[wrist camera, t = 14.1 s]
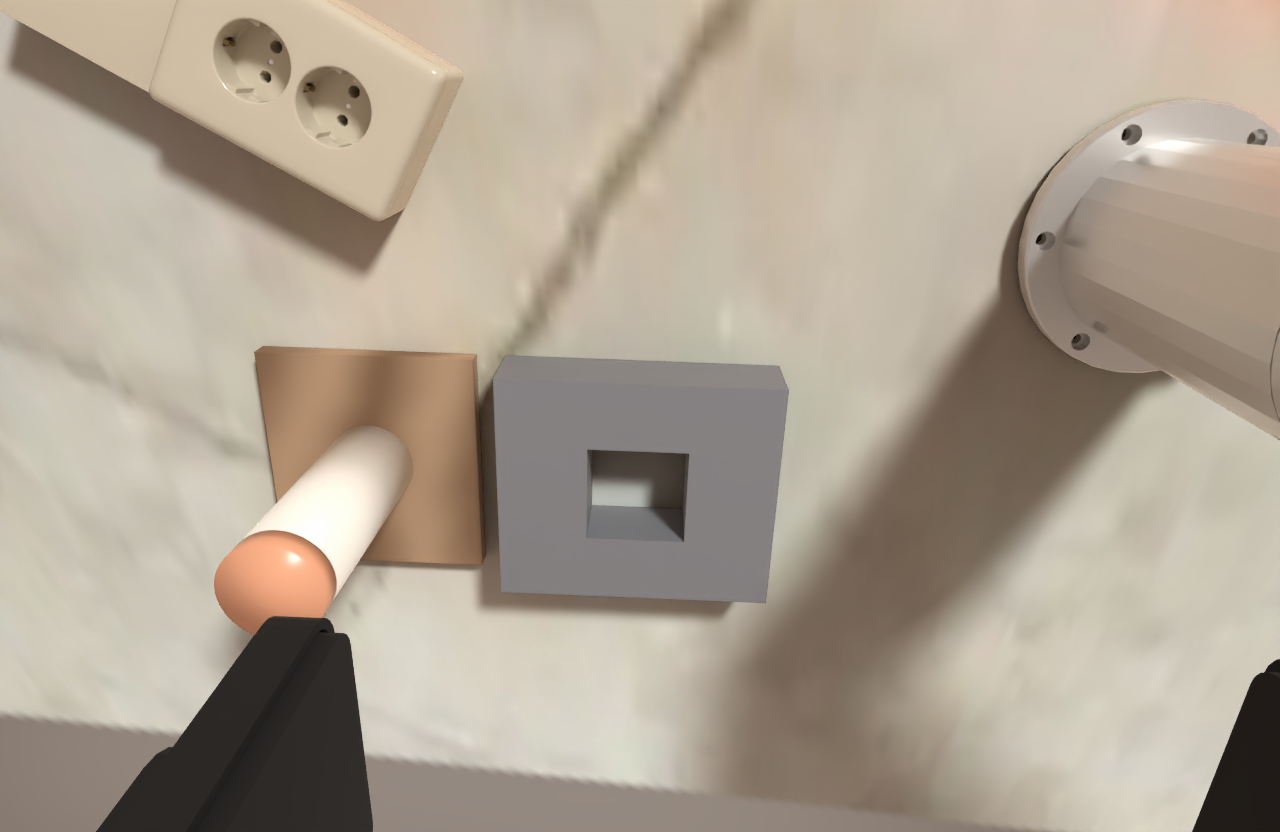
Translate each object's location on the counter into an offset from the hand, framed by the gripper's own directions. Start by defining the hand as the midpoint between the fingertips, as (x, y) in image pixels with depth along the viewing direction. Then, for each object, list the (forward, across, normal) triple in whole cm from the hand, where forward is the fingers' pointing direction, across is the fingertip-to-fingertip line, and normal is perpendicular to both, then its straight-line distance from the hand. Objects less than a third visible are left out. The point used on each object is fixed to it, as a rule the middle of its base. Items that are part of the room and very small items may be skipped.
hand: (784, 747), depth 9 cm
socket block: (+33, +2, +13) cm, 36 cm away
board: (+33, +16, +13) cm, 39 cm away
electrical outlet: (+34, +20, -7) cm, 40 cm away
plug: (+32, +16, +13) cm, 38 cm away
